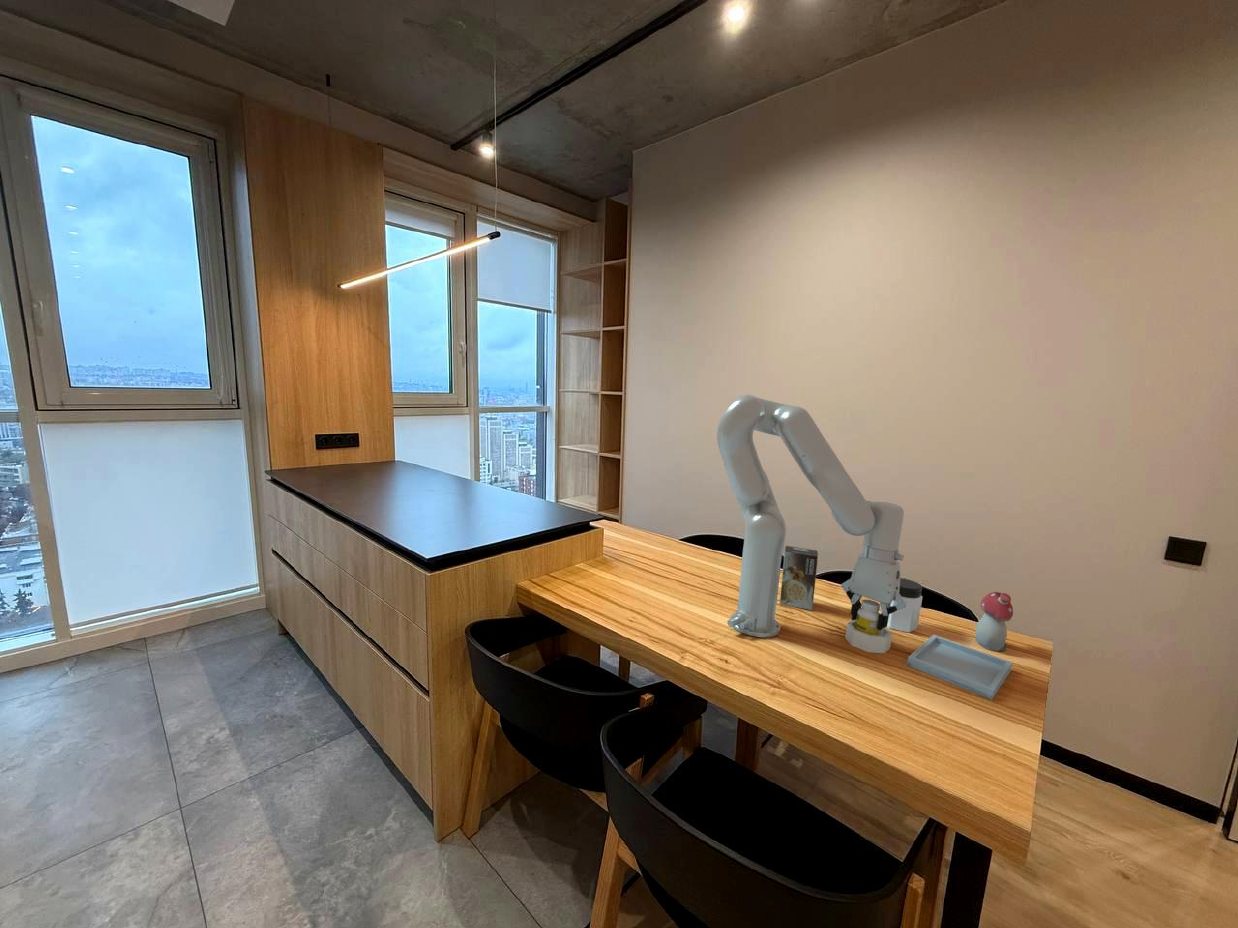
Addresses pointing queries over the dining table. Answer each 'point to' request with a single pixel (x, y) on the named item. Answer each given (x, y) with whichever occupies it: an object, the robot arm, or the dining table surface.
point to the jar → (907, 607)
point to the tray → (961, 665)
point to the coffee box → (798, 577)
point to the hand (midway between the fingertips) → (867, 622)
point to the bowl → (868, 639)
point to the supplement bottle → (868, 617)
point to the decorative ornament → (994, 621)
